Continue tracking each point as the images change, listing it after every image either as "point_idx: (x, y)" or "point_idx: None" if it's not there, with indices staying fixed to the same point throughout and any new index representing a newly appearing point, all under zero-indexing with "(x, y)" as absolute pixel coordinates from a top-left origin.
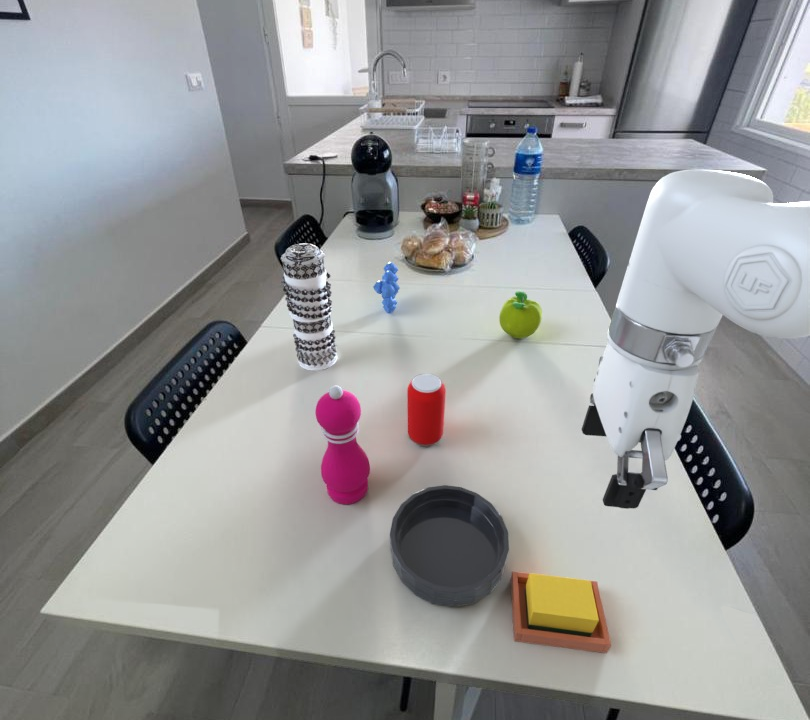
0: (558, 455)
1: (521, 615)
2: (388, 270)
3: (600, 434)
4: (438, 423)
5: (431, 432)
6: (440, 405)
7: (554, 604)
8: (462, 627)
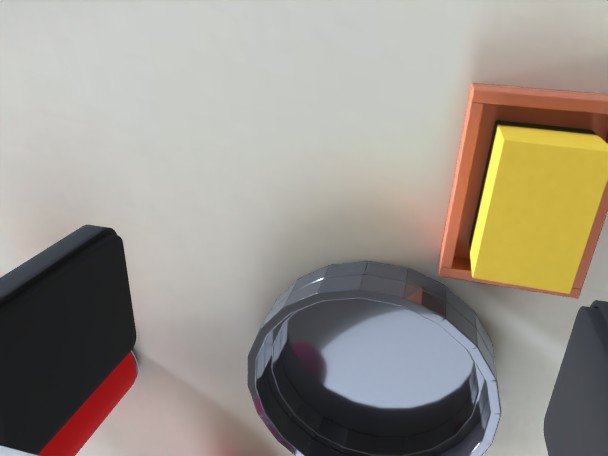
0: (89, 67)
1: None
2: None
3: (120, 281)
4: None
5: (110, 380)
6: None
7: (558, 245)
8: (530, 359)
